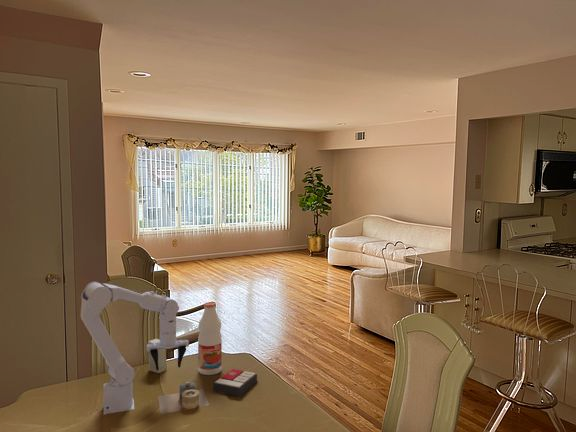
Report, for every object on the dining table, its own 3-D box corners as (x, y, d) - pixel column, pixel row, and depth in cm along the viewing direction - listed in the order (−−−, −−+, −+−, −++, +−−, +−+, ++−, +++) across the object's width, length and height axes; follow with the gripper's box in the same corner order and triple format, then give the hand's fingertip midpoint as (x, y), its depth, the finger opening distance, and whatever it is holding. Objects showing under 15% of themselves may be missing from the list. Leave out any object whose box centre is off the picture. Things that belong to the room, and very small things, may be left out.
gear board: (161, 415, 141) (160, 399, 141) (157, 397, 153) (157, 382, 153) (209, 407, 147) (209, 391, 147) (202, 390, 159) (202, 375, 159)
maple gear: (183, 409, 144) (183, 398, 144) (181, 402, 149) (181, 391, 149) (200, 407, 146) (199, 395, 146) (197, 399, 151) (197, 388, 151)
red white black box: (257, 372, 168) (239, 386, 154) (257, 383, 168) (239, 398, 154) (232, 367, 172) (213, 381, 158) (232, 378, 172) (212, 392, 158)
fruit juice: (213, 364, 183) (213, 299, 182) (226, 371, 177) (226, 303, 175) (193, 370, 177) (193, 303, 175) (206, 377, 170) (206, 307, 168)
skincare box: (167, 370, 177) (166, 341, 176) (158, 373, 173) (158, 344, 173) (156, 366, 180) (156, 338, 180) (147, 370, 177) (147, 341, 176)
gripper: (147, 336, 149) (148, 375, 150) (190, 332, 155) (190, 369, 156) (146, 330, 156) (146, 367, 157) (187, 326, 161) (187, 361, 162)
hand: (168, 367), depth 157 cm, fingers open, 7 cm apart
